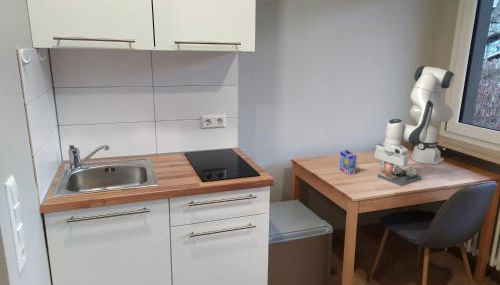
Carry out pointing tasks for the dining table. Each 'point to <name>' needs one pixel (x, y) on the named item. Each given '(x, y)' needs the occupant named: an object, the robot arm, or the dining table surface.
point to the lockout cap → (388, 168)
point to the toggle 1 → (397, 170)
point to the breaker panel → (400, 178)
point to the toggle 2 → (411, 171)
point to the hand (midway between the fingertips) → (389, 169)
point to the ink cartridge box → (347, 162)
